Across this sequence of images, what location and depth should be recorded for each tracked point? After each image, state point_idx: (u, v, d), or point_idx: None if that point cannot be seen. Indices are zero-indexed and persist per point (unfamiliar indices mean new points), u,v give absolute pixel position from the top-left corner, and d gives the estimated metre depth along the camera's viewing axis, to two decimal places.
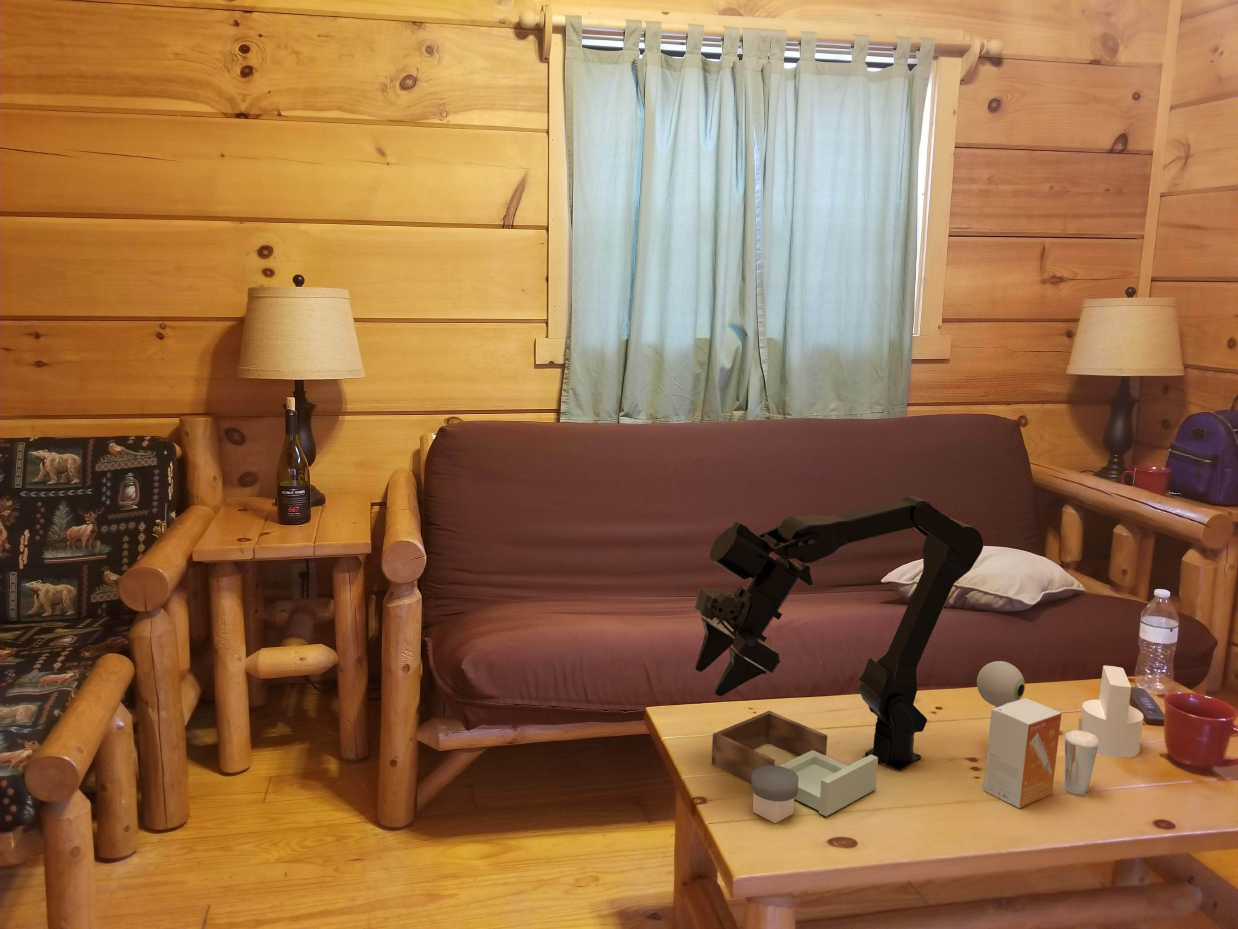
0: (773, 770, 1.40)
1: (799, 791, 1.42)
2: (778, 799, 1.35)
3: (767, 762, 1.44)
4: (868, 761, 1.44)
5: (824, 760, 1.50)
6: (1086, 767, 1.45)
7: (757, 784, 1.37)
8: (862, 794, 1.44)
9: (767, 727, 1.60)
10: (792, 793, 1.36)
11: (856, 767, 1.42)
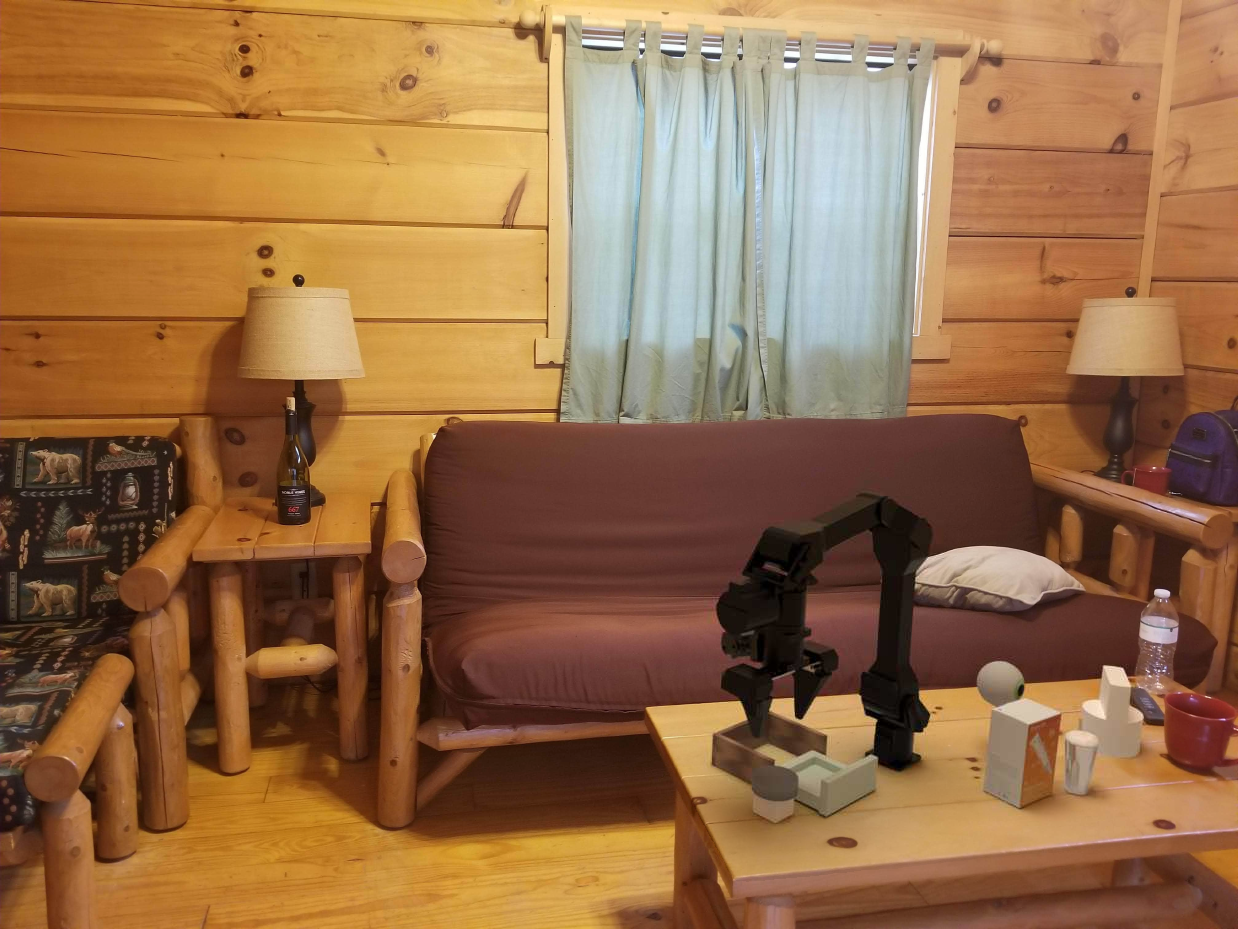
0: (773, 770, 1.40)
1: (799, 791, 1.42)
2: (778, 799, 1.35)
3: (767, 762, 1.44)
4: (868, 761, 1.44)
5: (824, 760, 1.50)
6: (1086, 767, 1.45)
7: (757, 784, 1.37)
8: (862, 794, 1.44)
9: (767, 727, 1.60)
10: (792, 793, 1.36)
11: (856, 767, 1.42)
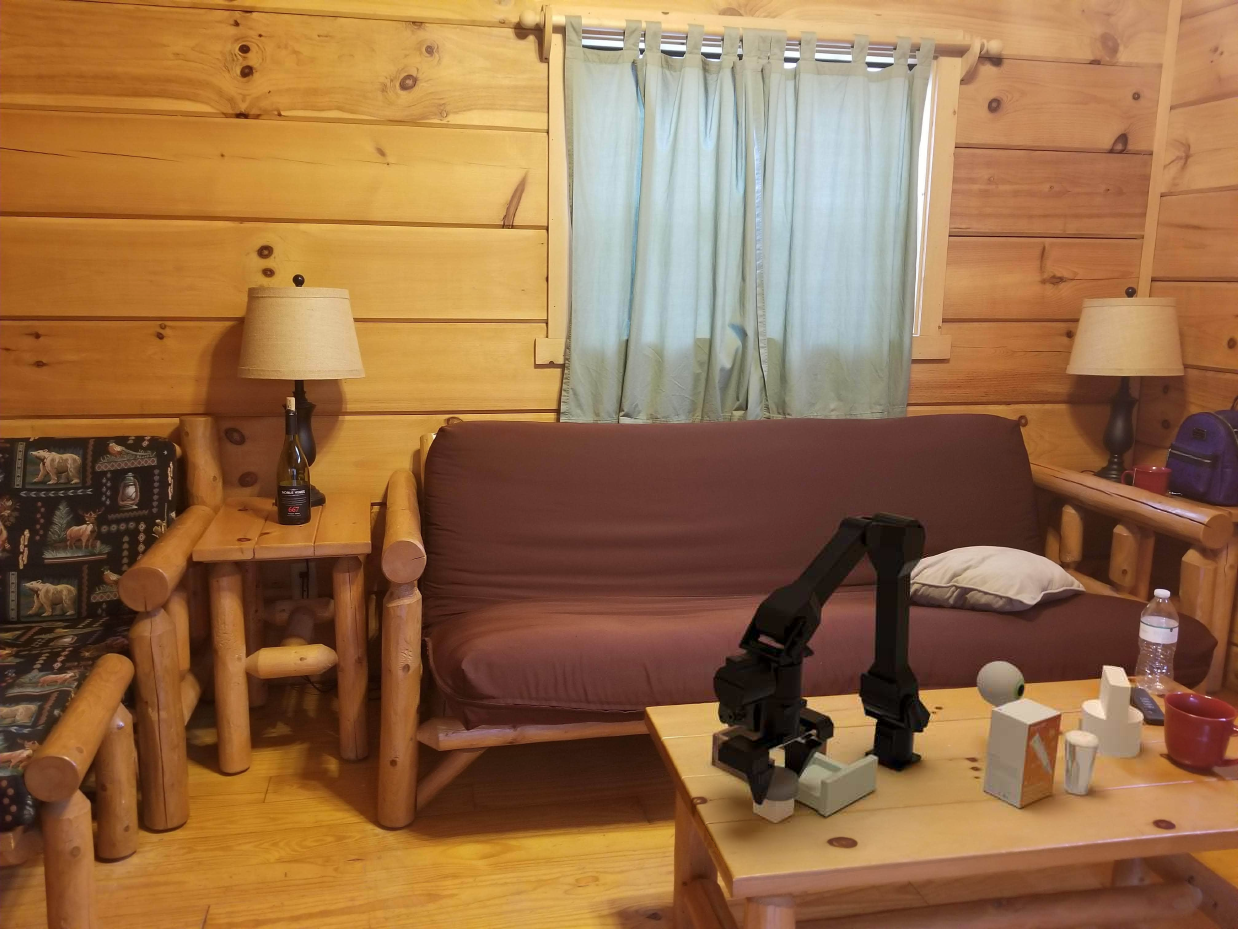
0: None
1: (799, 791, 1.42)
2: (778, 799, 1.35)
3: None
4: (868, 761, 1.44)
5: (824, 760, 1.50)
6: (1086, 767, 1.45)
7: None
8: (862, 794, 1.44)
9: None
10: (792, 793, 1.36)
11: (856, 767, 1.42)
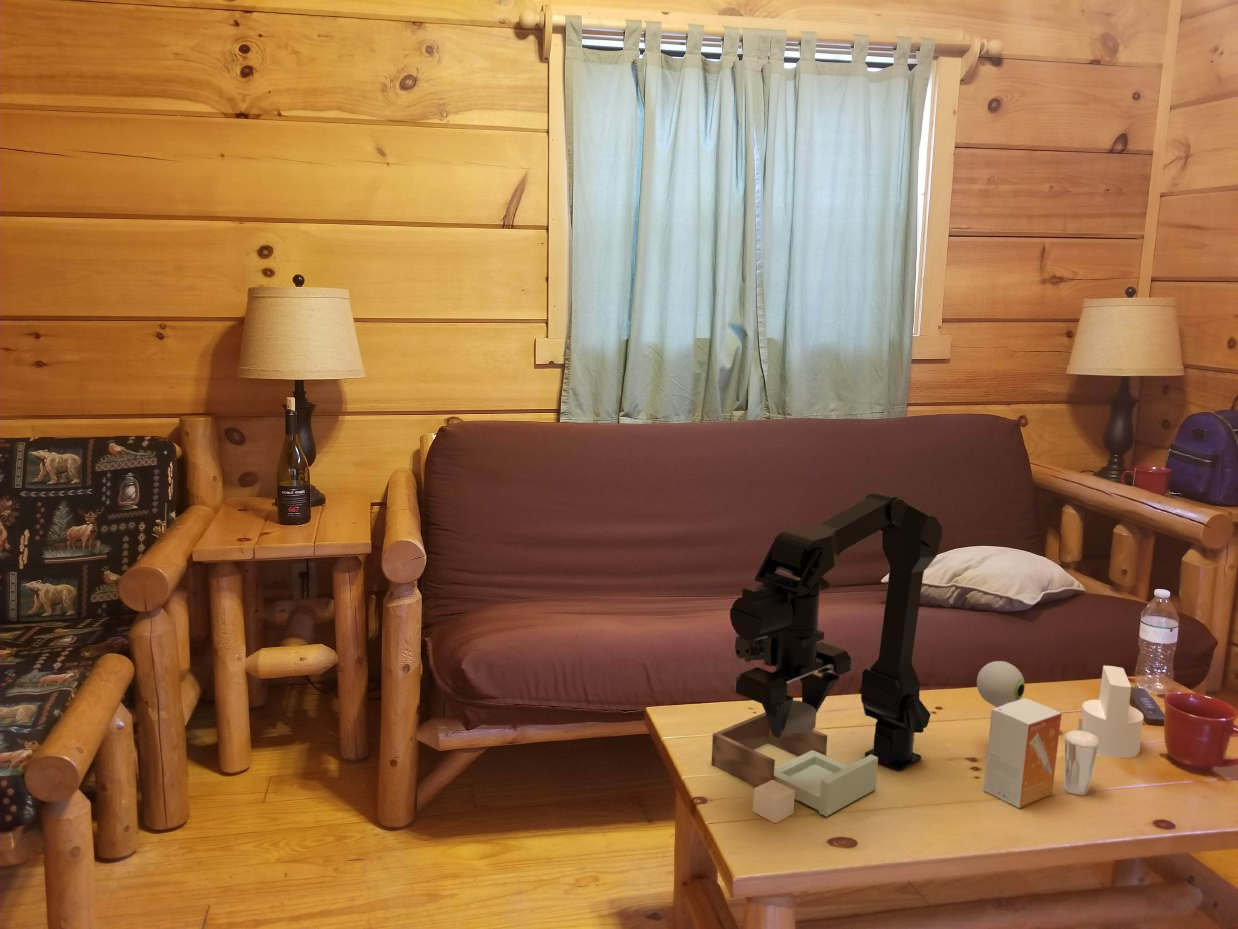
0: None
1: (799, 791, 1.42)
2: (796, 731, 1.36)
3: (767, 762, 1.44)
4: (868, 761, 1.44)
5: (824, 760, 1.50)
6: (1086, 767, 1.45)
7: None
8: (862, 794, 1.44)
9: (767, 727, 1.60)
10: (810, 725, 1.36)
11: (856, 767, 1.42)
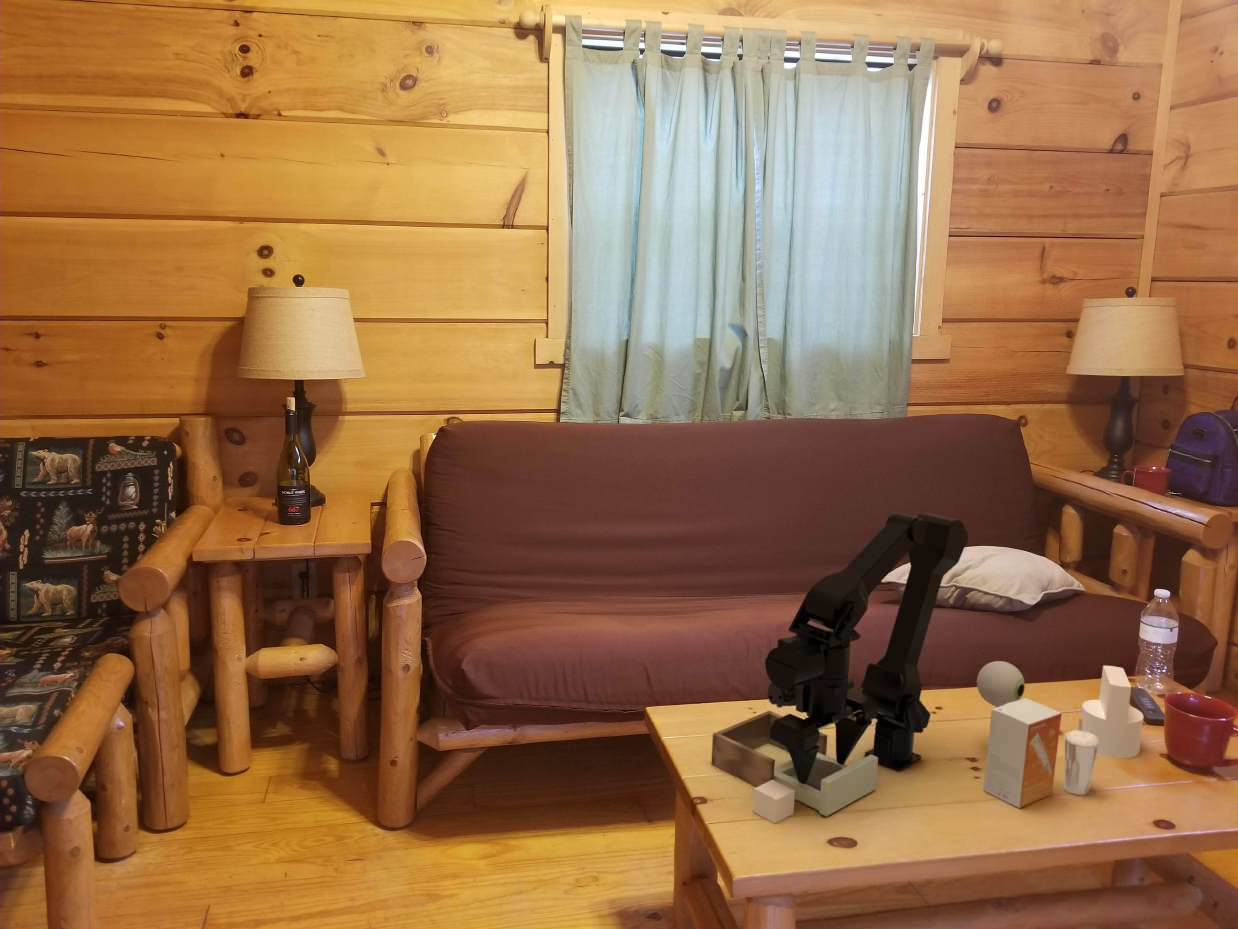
0: (819, 764, 1.47)
1: (799, 791, 1.42)
2: None
3: (767, 762, 1.44)
4: (868, 761, 1.44)
5: None
6: (1086, 767, 1.45)
7: None
8: (862, 794, 1.44)
9: (767, 727, 1.60)
10: None
11: (856, 767, 1.42)
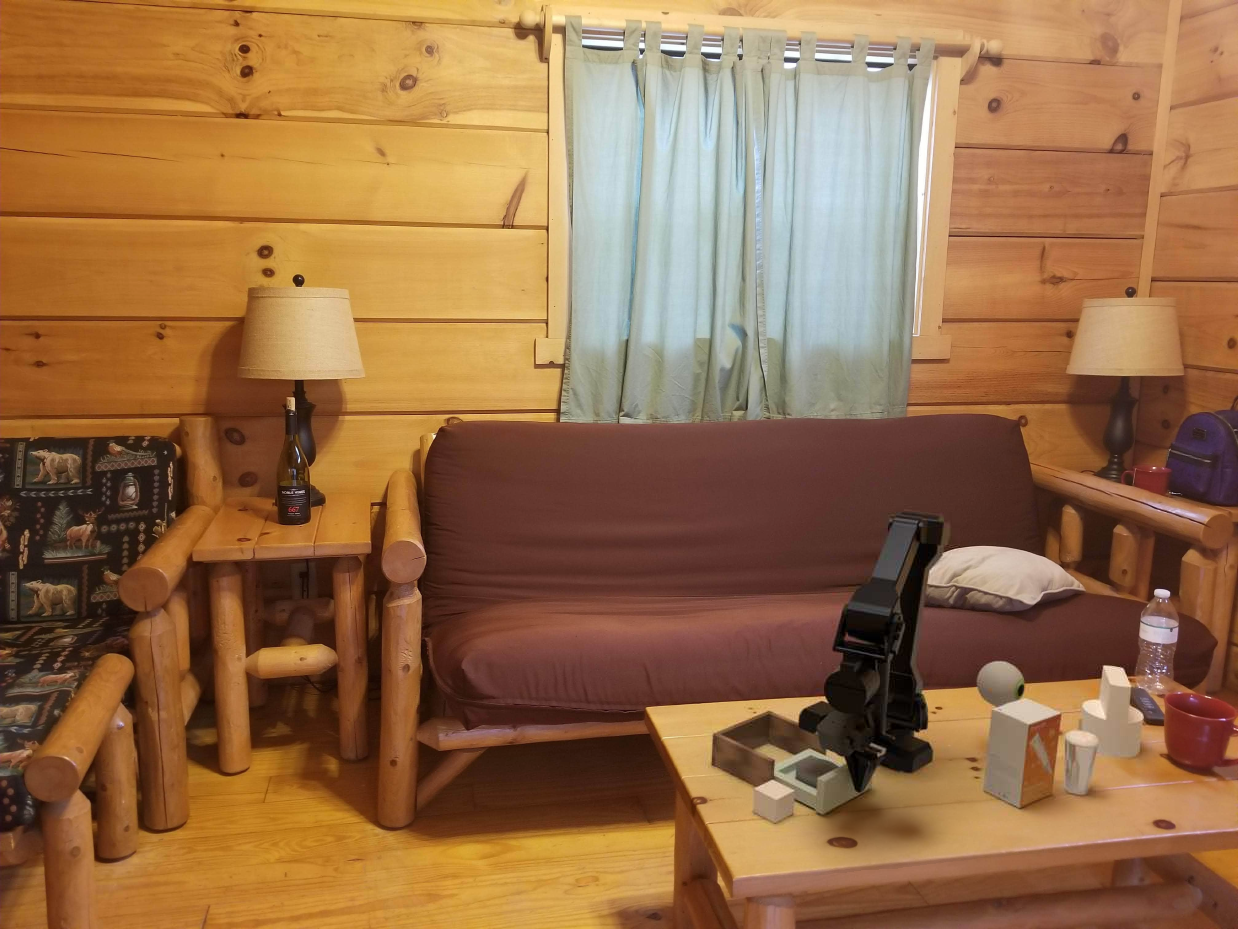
0: (815, 762, 1.48)
1: (795, 789, 1.42)
2: None
3: (767, 762, 1.44)
4: None
5: (821, 758, 1.51)
6: (1086, 767, 1.45)
7: (802, 775, 1.44)
8: None
9: (767, 727, 1.60)
10: None
11: None
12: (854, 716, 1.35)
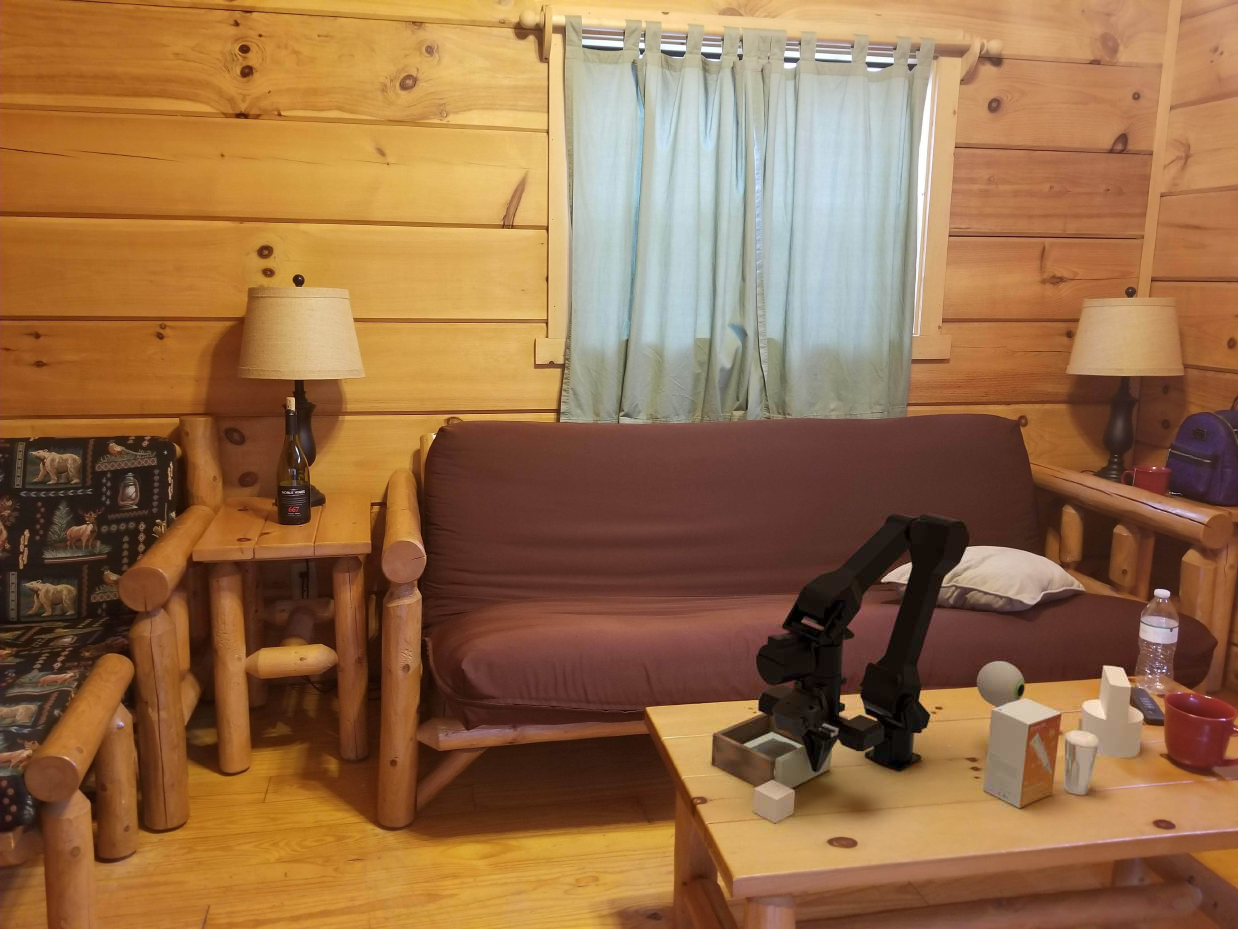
0: (776, 745, 1.53)
1: None
2: None
3: (767, 762, 1.44)
4: None
5: None
6: (1086, 767, 1.45)
7: None
8: (817, 773, 1.50)
9: (767, 727, 1.60)
10: None
11: None
12: (808, 698, 1.41)
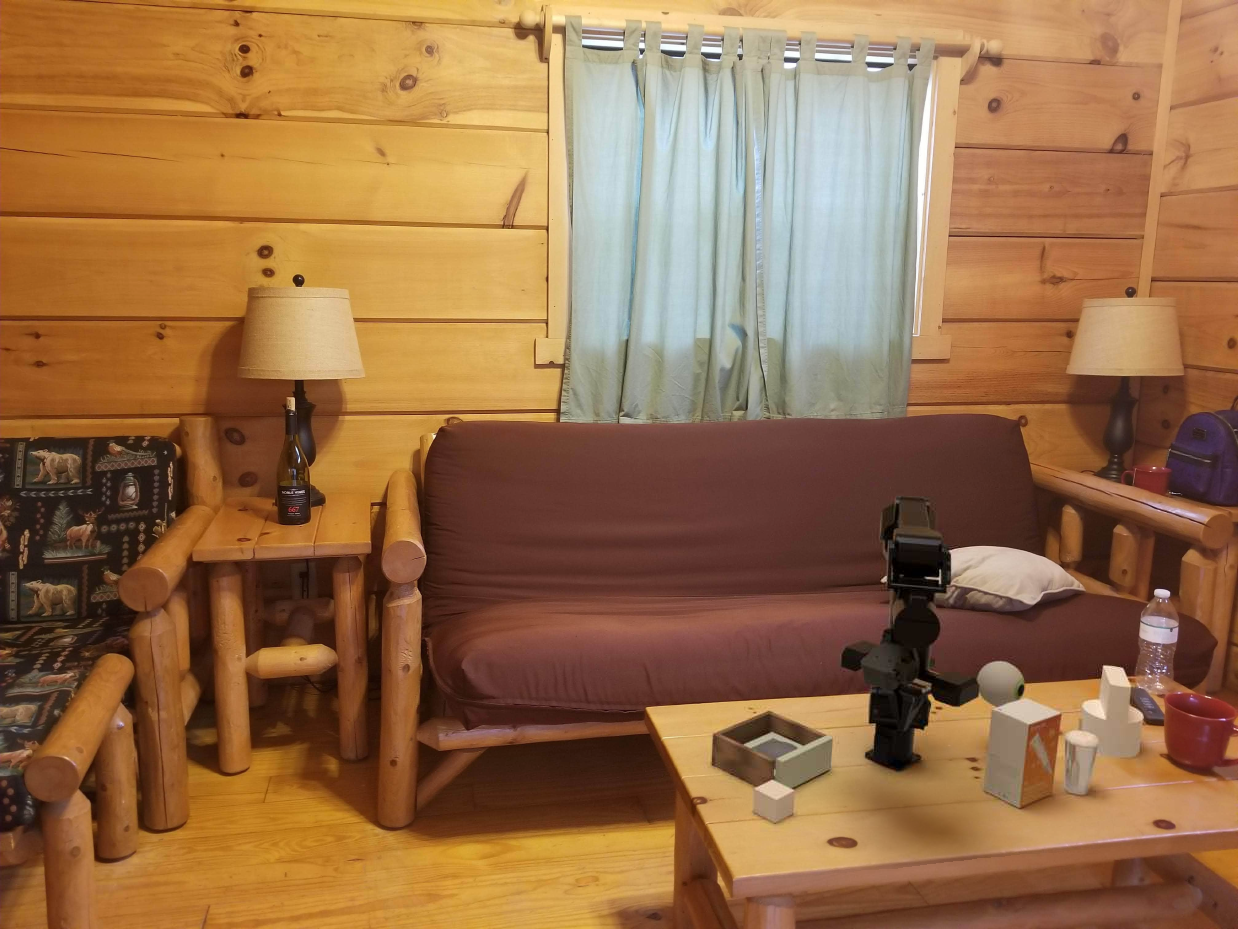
0: (776, 745, 1.53)
1: None
2: None
3: (767, 762, 1.44)
4: (823, 741, 1.50)
5: (783, 741, 1.56)
6: (1086, 767, 1.45)
7: None
8: (817, 773, 1.49)
9: (767, 727, 1.60)
10: None
11: (811, 747, 1.48)
12: (899, 651, 1.33)
